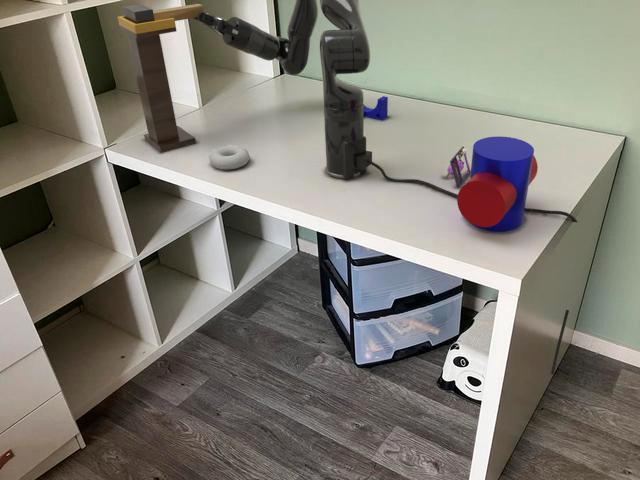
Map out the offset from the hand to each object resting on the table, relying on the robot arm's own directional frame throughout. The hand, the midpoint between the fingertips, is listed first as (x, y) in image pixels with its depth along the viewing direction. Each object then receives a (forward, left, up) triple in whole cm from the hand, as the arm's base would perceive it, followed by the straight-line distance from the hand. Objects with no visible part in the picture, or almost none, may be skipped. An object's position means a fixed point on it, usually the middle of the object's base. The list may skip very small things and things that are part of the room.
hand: (191, 12), depth 157 cm
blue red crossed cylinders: (-84, -25, -32) cm, 93 cm away
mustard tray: (0, +12, -1) cm, 12 cm away
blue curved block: (-19, -41, -32) cm, 55 cm away
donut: (-23, +6, -32) cm, 40 cm away
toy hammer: (0, +6, -1) cm, 7 cm away
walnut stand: (0, +12, -31) cm, 34 cm away
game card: (-65, -32, -32) cm, 79 cm away
